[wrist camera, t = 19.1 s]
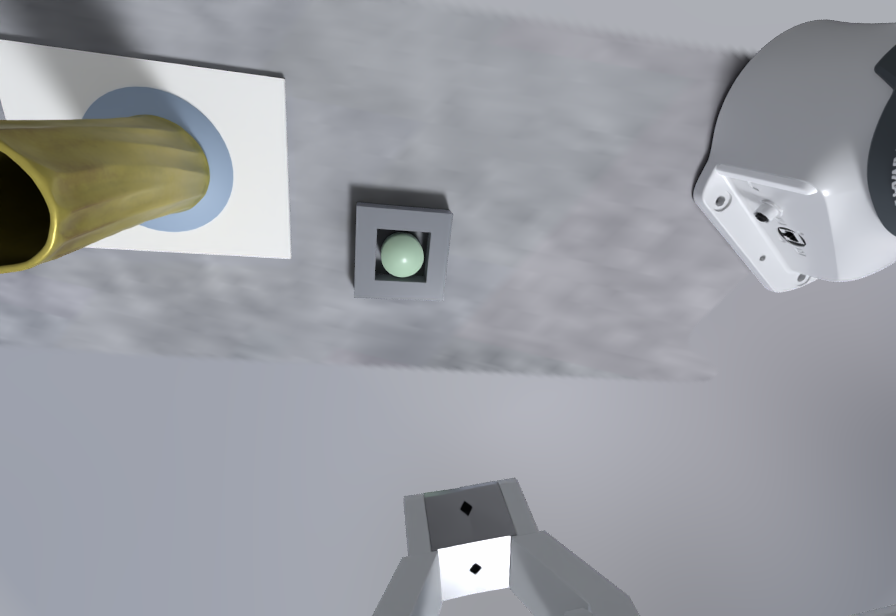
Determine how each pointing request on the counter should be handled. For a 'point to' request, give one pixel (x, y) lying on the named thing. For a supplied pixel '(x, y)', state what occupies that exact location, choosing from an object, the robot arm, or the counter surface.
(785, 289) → the robot arm
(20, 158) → the vase
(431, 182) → the counter surface
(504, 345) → the counter surface
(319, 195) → the counter surface
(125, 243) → the paper pad
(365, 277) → the button collar
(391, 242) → the button
